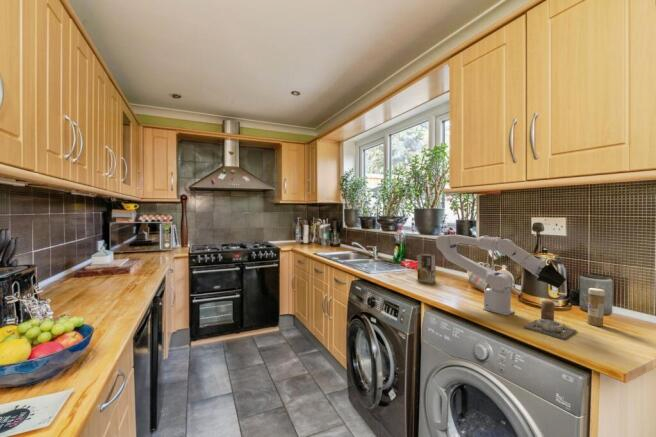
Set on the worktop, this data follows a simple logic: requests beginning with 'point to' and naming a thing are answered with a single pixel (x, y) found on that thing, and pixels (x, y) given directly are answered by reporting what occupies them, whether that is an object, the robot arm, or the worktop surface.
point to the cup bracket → (550, 328)
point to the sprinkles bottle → (596, 306)
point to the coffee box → (426, 268)
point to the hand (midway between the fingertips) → (562, 284)
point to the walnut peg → (547, 310)
